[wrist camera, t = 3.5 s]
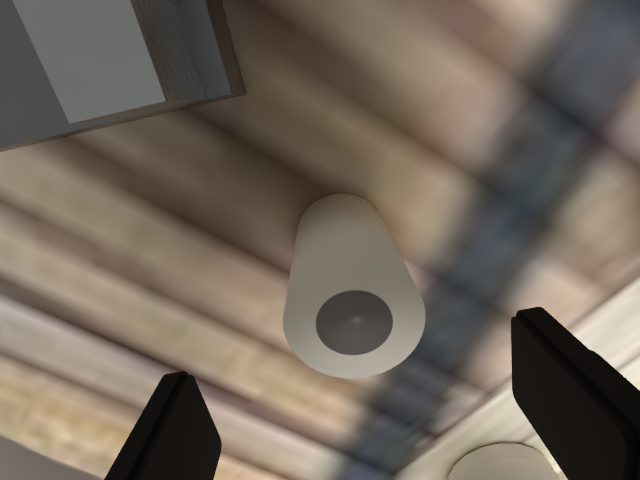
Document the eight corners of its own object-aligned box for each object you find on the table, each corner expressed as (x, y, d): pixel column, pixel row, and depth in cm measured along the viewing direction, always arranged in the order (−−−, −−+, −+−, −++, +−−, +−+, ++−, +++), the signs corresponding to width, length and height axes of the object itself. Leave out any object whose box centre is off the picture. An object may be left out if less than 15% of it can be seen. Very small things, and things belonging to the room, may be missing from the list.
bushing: (377, 184, 18) (417, 247, 11) (389, 265, 20) (431, 367, 13) (287, 203, 19) (266, 276, 11) (307, 281, 20) (301, 388, 13)
